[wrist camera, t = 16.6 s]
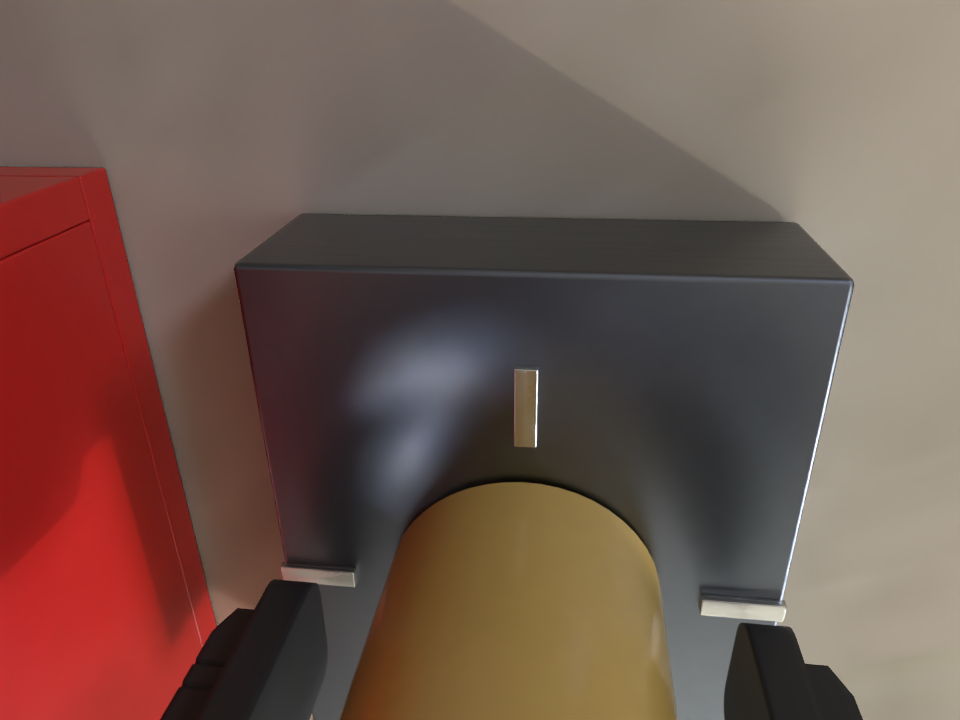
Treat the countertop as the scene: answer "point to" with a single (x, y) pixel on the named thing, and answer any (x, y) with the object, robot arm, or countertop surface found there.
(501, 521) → the valve knob
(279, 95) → the countertop surface
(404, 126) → the countertop surface
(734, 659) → the robot arm
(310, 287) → the panel
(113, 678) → the red lidded box
